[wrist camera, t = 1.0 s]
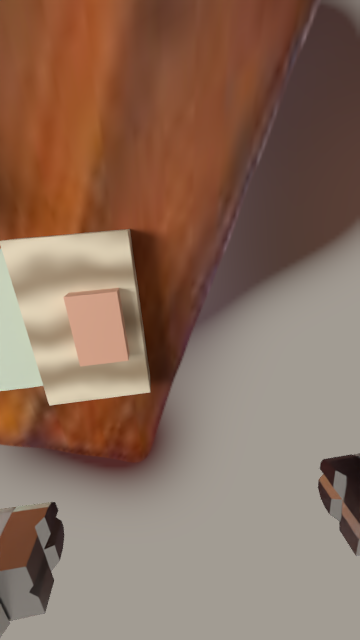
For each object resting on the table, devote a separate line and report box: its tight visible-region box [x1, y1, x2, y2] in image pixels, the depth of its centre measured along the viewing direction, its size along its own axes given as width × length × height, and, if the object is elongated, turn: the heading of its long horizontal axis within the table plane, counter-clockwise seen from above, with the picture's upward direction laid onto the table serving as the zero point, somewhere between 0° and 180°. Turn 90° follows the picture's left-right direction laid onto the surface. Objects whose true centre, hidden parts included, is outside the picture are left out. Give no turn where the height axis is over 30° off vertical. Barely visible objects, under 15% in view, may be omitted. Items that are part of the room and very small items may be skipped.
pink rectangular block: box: [64, 288, 130, 367], centre depth 33 cm, size 9×6×2 cm, turn 4°
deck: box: [0, 229, 150, 405], centre depth 36 cm, size 22×14×4 cm, turn 5°
